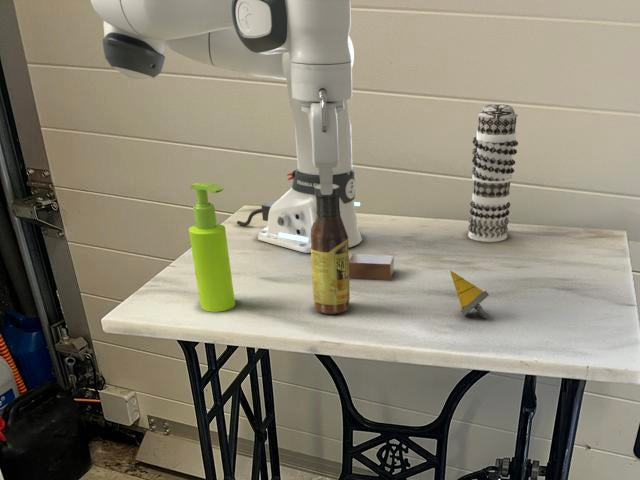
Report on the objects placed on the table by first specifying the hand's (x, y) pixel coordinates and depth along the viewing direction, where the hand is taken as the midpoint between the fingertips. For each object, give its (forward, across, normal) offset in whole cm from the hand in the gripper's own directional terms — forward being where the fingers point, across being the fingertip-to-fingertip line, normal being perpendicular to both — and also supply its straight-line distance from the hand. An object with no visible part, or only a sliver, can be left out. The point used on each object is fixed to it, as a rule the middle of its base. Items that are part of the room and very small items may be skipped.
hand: (325, 186), depth 114 cm
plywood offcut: (+20, +16, -8) cm, 27 cm away
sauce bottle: (+20, 0, 0) cm, 20 cm away
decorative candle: (+20, +38, -35) cm, 56 cm away
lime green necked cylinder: (+20, +3, +19) cm, 28 cm away
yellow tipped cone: (+20, -5, -23) cm, 31 cm away
